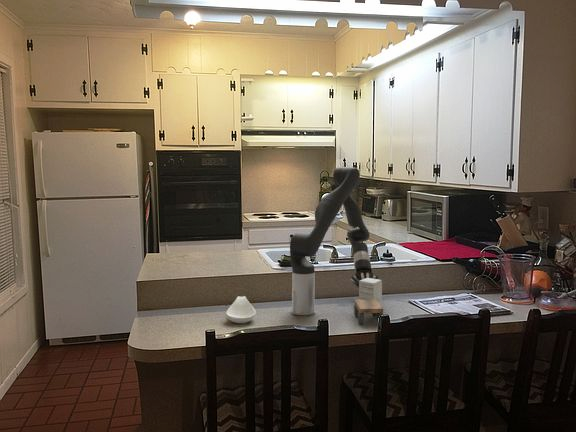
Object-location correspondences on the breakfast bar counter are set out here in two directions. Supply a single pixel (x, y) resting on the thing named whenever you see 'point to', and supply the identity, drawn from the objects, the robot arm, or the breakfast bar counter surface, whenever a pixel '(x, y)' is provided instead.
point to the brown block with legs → (367, 308)
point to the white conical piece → (241, 311)
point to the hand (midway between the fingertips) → (367, 295)
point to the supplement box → (370, 289)
